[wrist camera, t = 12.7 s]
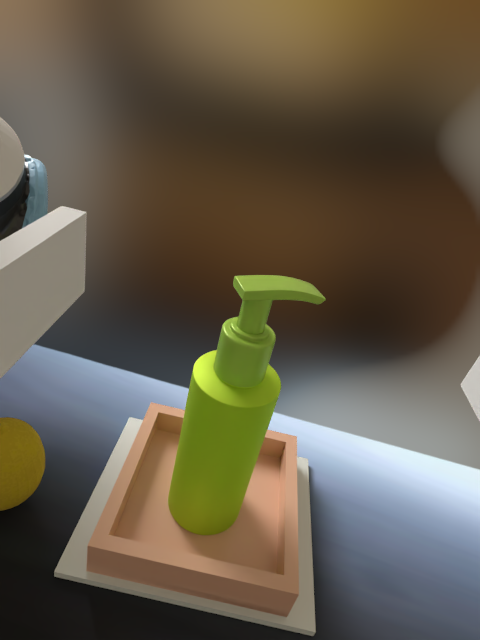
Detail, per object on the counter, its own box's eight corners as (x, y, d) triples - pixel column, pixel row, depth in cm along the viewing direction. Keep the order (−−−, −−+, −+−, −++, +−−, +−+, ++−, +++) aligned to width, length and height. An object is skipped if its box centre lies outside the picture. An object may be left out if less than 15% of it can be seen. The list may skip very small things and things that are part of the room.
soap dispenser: (261, 526, 33) (346, 309, 23) (175, 542, 30) (229, 306, 20) (239, 465, 38) (301, 263, 28) (162, 475, 35) (201, 256, 25)
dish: (86, 570, 28) (87, 545, 27) (148, 425, 40) (151, 402, 39) (286, 617, 28) (298, 594, 27) (288, 458, 41) (296, 436, 39)
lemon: (56, 510, 32) (55, 437, 28) (-28, 548, 29) (-43, 471, 25) (34, 459, 35) (30, 388, 31) (-44, 487, 32) (-59, 411, 28)
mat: (54, 576, 28) (54, 571, 28) (129, 421, 41) (129, 417, 41) (313, 636, 28) (315, 632, 28) (306, 463, 41) (307, 458, 41)
